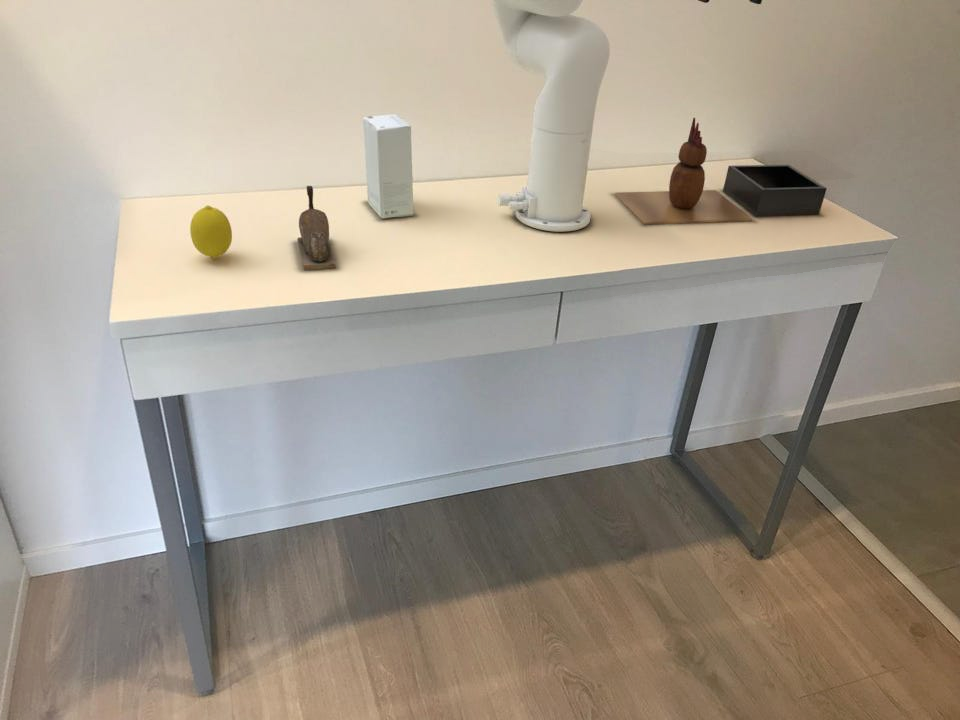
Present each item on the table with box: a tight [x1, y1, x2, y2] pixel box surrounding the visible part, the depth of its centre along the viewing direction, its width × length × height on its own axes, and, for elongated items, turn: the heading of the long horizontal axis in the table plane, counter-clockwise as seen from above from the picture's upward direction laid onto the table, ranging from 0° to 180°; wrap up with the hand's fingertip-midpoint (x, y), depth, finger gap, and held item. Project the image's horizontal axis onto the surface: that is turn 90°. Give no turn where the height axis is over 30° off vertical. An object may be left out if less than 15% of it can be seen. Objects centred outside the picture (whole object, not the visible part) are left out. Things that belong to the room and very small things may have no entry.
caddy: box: [722, 164, 827, 218], centre depth 145 cm, size 13×13×5 cm
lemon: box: [189, 205, 233, 260], centre depth 112 cm, size 6×6×8 cm
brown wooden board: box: [615, 189, 753, 225], centre depth 142 cm, size 20×14×1 cm
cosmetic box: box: [362, 113, 414, 219], centre depth 130 cm, size 8×6×15 cm
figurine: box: [296, 185, 336, 271], centre depth 116 cm, size 14×4×9 cm, turn 16°
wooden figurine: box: [668, 117, 708, 209], centre depth 138 cm, size 7×6×15 cm
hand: (729, 2), depth 135 cm, fingers open, 9 cm apart
